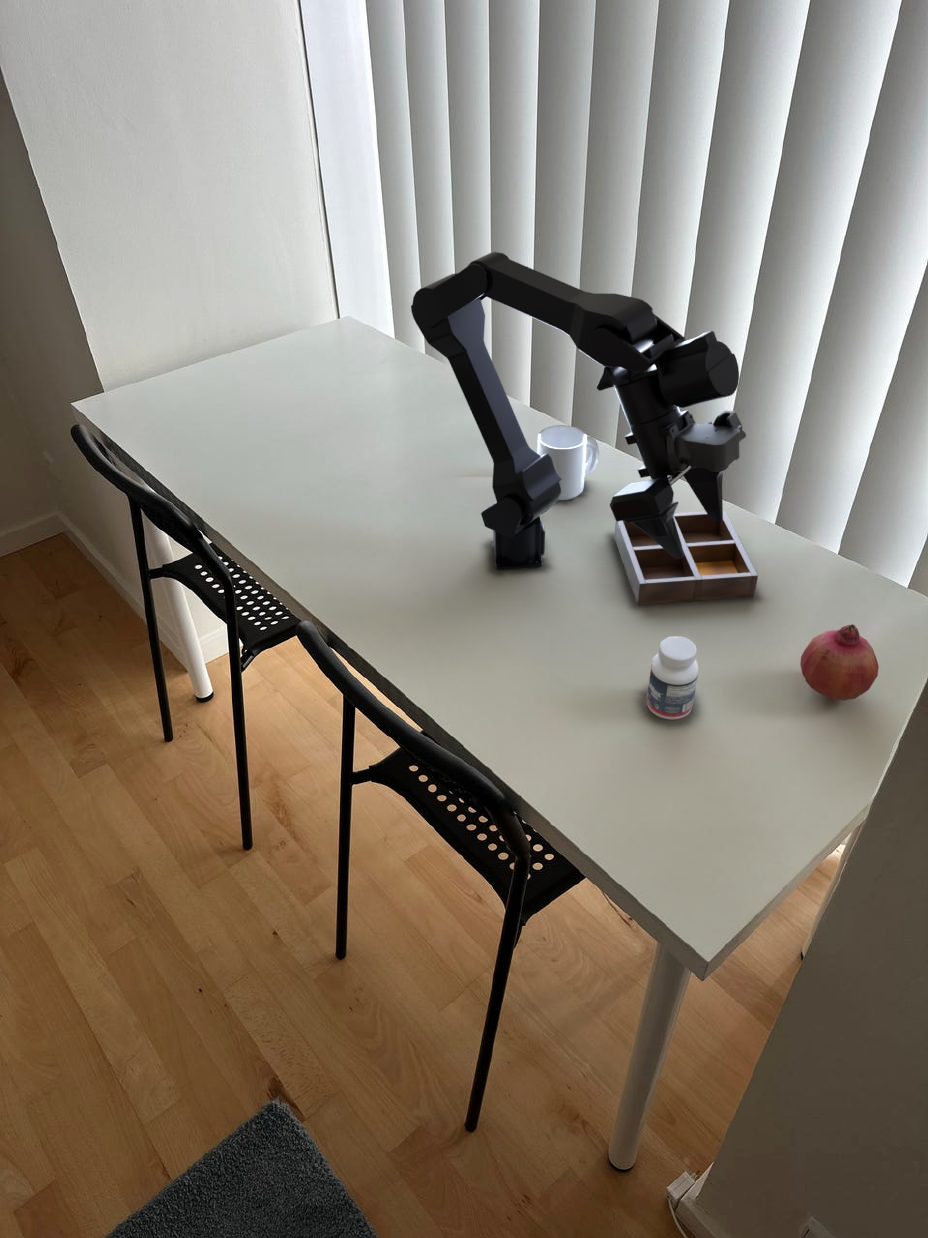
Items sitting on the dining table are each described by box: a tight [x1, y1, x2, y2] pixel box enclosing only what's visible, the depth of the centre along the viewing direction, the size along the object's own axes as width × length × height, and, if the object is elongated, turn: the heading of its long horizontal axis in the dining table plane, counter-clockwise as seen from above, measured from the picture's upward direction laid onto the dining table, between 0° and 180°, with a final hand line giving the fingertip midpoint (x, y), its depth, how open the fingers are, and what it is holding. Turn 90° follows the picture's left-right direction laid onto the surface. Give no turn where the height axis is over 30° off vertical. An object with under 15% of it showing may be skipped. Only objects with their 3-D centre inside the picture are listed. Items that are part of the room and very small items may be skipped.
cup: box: [536, 424, 600, 501], centre depth 143 cm, size 7×10×9 cm
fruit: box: [799, 623, 879, 701], centre depth 107 cm, size 8×8×10 cm
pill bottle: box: [646, 635, 700, 721], centre depth 106 cm, size 5×5×9 cm
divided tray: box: [613, 509, 759, 606], centre depth 128 cm, size 15×15×4 cm
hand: (699, 539), depth 110 cm, fingers open, 9 cm apart
